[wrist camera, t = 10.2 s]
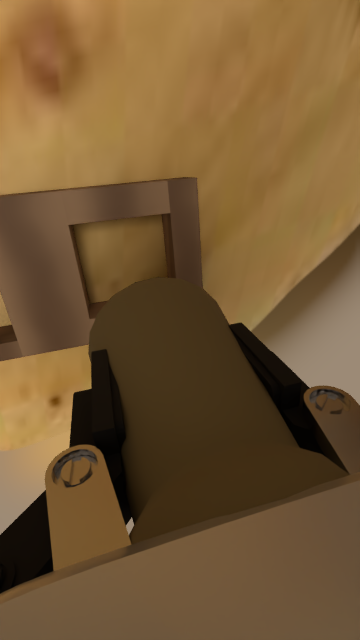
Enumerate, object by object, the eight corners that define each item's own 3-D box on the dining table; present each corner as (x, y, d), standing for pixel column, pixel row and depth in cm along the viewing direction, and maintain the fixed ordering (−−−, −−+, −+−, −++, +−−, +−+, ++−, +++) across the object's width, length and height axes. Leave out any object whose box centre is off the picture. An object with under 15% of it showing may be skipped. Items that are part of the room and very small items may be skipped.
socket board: (184, 177, 27) (196, 177, 23) (193, 308, 32) (204, 322, 29) (-116, 206, 22) (-149, 211, 19) (-49, 351, 28) (-66, 373, 24)
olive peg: (222, 390, 16) (436, 741, 6) (96, 411, 14) (109, 910, 5) (230, 271, 13) (625, 546, 3) (78, 283, 12) (24, 793, 2)
